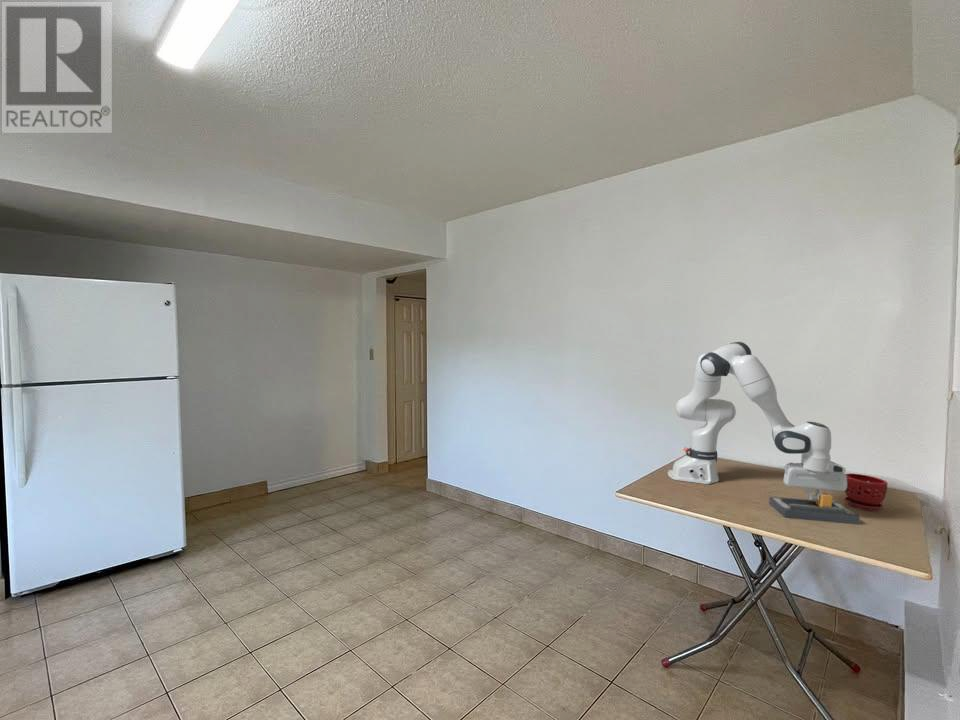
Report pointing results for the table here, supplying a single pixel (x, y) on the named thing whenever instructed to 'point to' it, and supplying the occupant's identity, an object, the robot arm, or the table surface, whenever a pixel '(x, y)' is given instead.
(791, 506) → the gray rectangular tray
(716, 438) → the robot arm
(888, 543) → the table surface
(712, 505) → the table surface
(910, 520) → the table surface
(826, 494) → the block
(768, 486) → the table surface
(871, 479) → the plant pot
